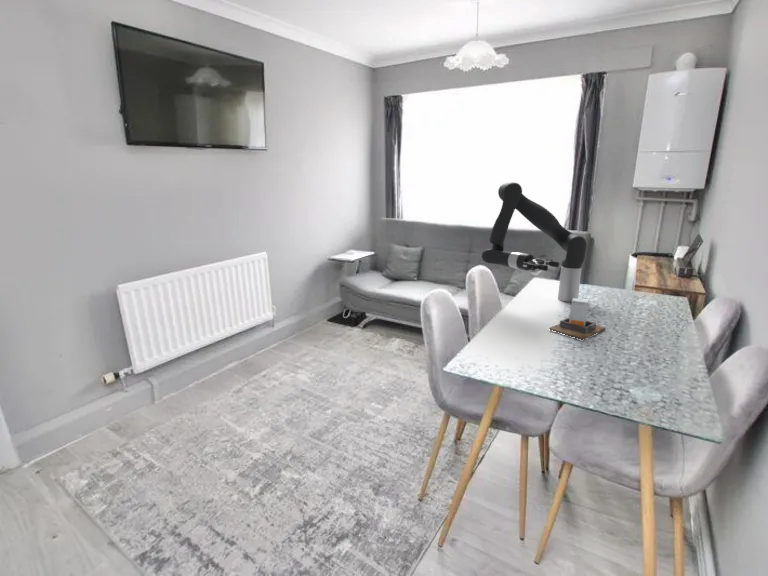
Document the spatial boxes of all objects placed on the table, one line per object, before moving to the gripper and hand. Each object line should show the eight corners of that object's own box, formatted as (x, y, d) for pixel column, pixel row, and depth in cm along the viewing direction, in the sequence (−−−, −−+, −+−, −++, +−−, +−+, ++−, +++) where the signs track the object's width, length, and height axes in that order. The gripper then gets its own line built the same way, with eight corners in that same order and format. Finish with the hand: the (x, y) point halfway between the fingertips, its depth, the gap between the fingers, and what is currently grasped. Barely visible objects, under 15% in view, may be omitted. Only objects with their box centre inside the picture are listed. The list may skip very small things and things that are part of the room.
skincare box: (568, 328, 162) (571, 300, 159) (569, 324, 166) (572, 297, 163) (584, 330, 159) (588, 302, 156) (585, 327, 163) (588, 299, 160)
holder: (572, 320, 174) (573, 313, 173) (605, 330, 163) (606, 322, 162) (549, 330, 163) (549, 322, 162) (582, 341, 153) (583, 332, 152)
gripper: (511, 255, 177) (544, 260, 164) (530, 250, 184) (563, 255, 172) (510, 271, 179) (543, 278, 166) (529, 266, 187) (561, 272, 174)
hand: (553, 266), depth 169 cm, fingers open, 8 cm apart
